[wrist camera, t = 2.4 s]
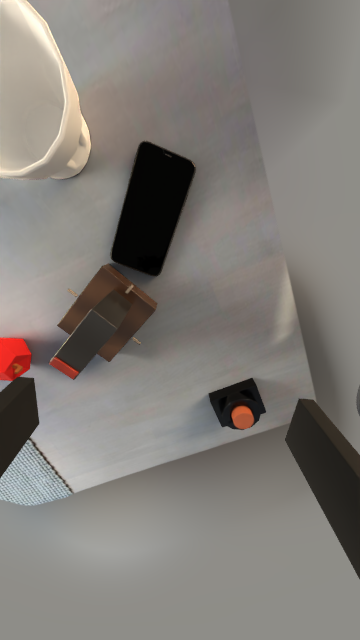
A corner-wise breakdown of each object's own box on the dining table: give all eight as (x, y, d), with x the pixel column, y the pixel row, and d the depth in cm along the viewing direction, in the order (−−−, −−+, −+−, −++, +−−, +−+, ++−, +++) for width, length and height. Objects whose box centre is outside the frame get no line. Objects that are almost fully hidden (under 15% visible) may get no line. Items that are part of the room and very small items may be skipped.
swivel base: (101, 252, 33) (94, 253, 30) (168, 307, 36) (167, 314, 33) (54, 314, 36) (43, 321, 33) (119, 361, 39) (115, 371, 36)
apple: (-50, 373, 33) (-8, 400, 31) (-37, 329, 32) (7, 354, 30) (-1, 363, 39) (36, 385, 38) (11, 326, 39) (49, 346, 37)
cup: (-14, 157, 29) (-120, 113, 18) (23, 42, 25) (-82, -91, 15) (81, 217, 31) (34, 208, 21) (126, 120, 28) (97, 52, 17)
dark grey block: (113, 289, 32) (90, 309, 23) (132, 304, 32) (117, 329, 24) (80, 330, 33) (46, 364, 25) (98, 344, 34) (73, 381, 26)
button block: (252, 377, 40) (260, 392, 37) (262, 404, 42) (270, 420, 39) (208, 393, 41) (211, 409, 38) (220, 418, 43) (224, 436, 39)
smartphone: (159, 277, 34) (198, 164, 29) (158, 279, 33) (198, 163, 29) (109, 259, 33) (141, 139, 28) (107, 260, 32) (140, 136, 28)
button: (247, 402, 38) (250, 410, 36) (253, 417, 39) (256, 425, 37) (228, 409, 38) (230, 417, 36) (234, 423, 39) (237, 431, 37)
